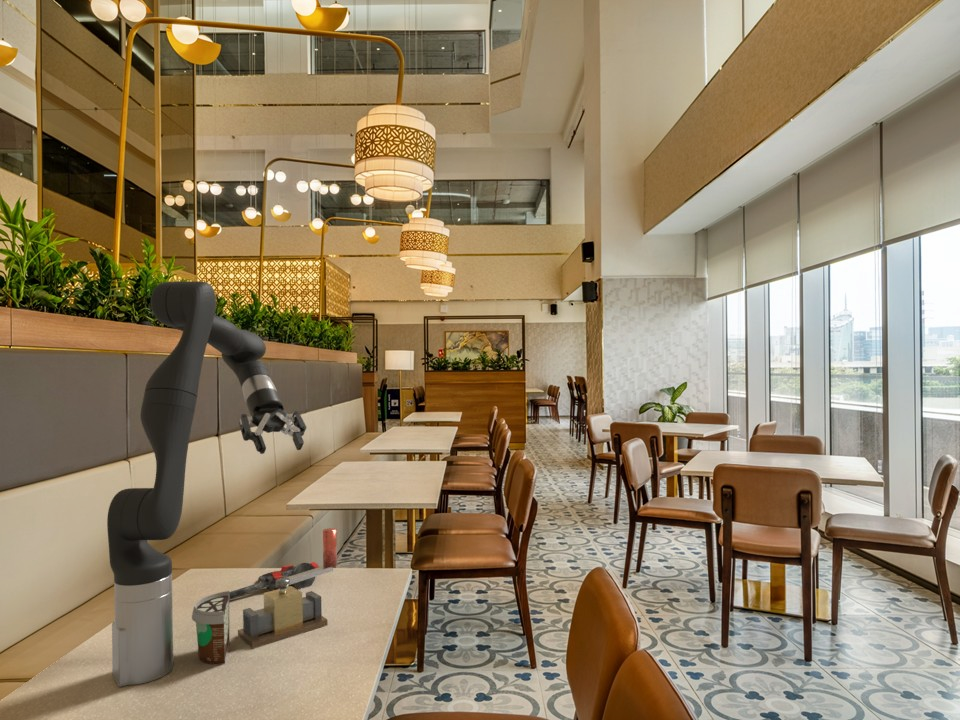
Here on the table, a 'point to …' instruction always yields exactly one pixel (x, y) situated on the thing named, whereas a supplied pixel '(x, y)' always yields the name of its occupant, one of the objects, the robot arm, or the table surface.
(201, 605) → the food container
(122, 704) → the table surface
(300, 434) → the robot arm
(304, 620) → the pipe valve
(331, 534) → the lever
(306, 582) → the valve
